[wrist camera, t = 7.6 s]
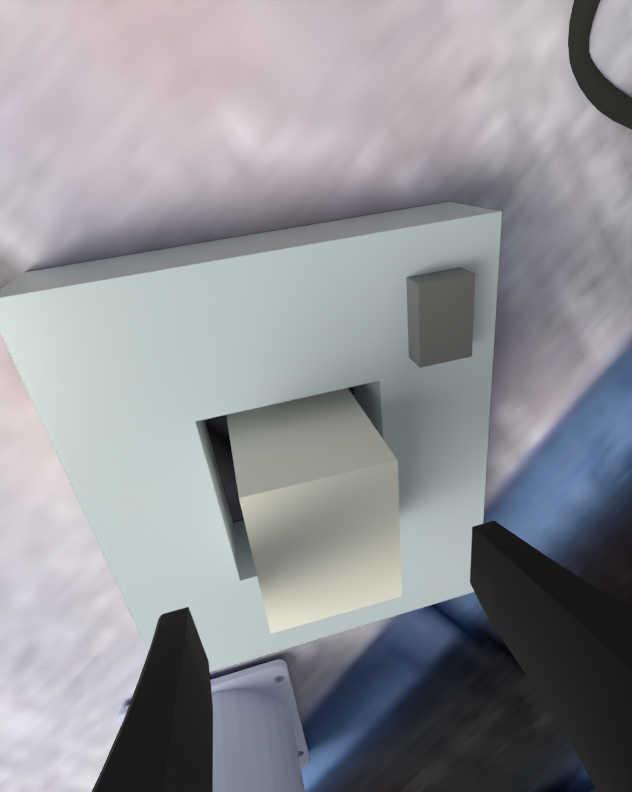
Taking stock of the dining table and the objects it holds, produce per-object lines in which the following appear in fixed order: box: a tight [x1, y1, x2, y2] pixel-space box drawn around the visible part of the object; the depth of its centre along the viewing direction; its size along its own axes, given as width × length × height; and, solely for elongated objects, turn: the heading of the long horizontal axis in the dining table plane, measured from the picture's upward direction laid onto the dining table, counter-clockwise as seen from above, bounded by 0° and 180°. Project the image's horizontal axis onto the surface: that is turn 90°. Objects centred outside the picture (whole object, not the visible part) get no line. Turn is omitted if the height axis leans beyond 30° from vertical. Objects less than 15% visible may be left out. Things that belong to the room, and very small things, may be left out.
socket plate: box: [0, 202, 502, 672], centre depth 16 cm, size 15×13×4 cm
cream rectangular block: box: [226, 388, 402, 634], centre depth 15 cm, size 5×4×6 cm
